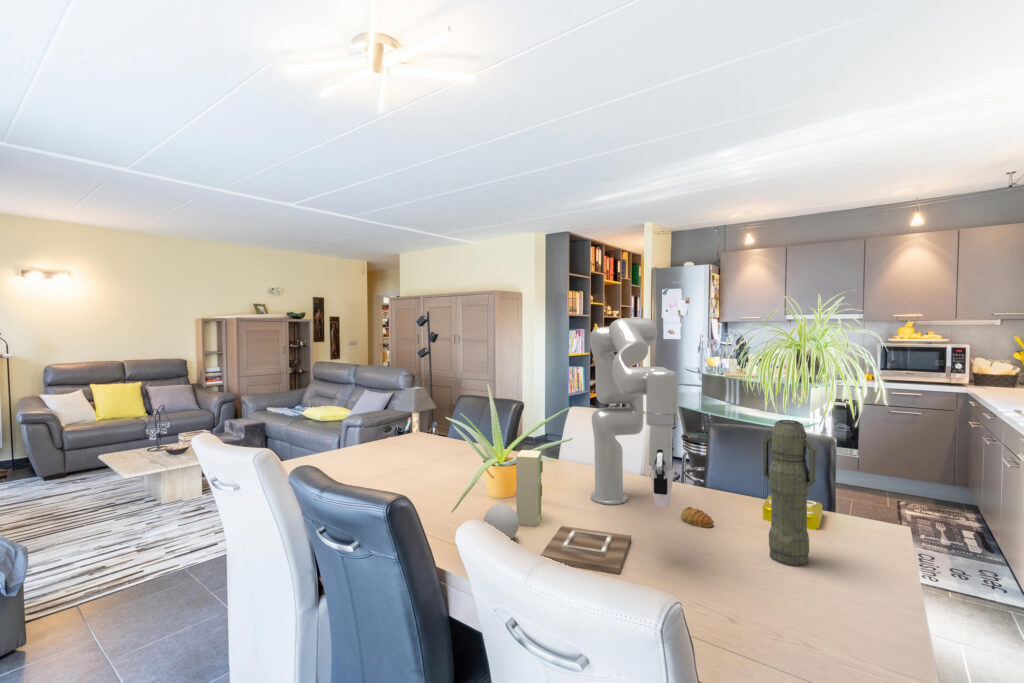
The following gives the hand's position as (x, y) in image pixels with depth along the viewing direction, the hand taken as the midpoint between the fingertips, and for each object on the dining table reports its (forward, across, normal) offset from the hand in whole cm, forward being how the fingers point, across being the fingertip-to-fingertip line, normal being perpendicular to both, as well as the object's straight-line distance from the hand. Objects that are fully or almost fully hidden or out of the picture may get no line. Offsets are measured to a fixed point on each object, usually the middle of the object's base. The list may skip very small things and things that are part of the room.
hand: (661, 488), depth 125 cm
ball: (+19, +3, -43) cm, 47 cm away
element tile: (+19, -43, +36) cm, 59 cm away
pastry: (+19, -29, +8) cm, 36 cm away
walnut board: (+18, +1, -19) cm, 26 cm away
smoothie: (+4, 0, 0) cm, 4 cm away
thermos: (+18, -12, +30) cm, 37 cm away
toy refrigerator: (+19, -13, -40) cm, 46 cm away
